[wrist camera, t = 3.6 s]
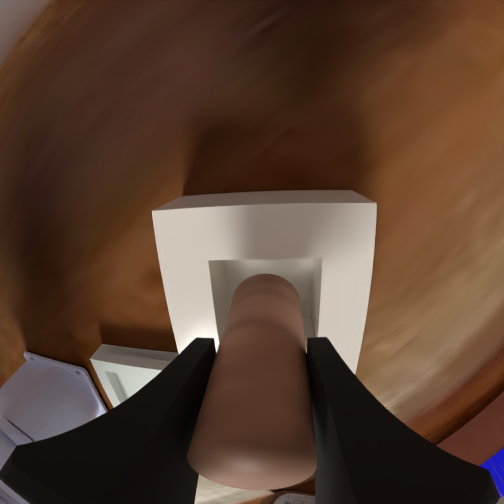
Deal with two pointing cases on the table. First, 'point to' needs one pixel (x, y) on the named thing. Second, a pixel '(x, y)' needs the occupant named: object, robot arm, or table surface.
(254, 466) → the pin
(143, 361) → the tray
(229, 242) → the cup block
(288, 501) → the tin
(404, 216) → the table surface
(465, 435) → the house
